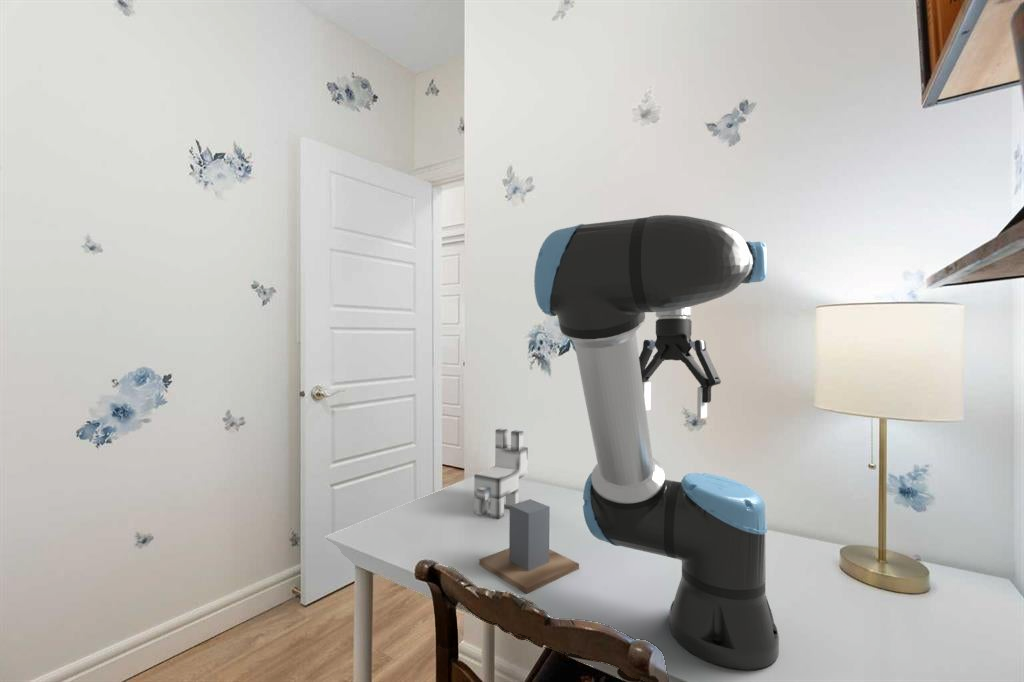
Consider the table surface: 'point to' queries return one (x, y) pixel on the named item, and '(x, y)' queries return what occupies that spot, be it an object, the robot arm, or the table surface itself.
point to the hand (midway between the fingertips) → (672, 414)
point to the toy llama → (501, 475)
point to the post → (525, 578)
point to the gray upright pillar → (529, 534)
